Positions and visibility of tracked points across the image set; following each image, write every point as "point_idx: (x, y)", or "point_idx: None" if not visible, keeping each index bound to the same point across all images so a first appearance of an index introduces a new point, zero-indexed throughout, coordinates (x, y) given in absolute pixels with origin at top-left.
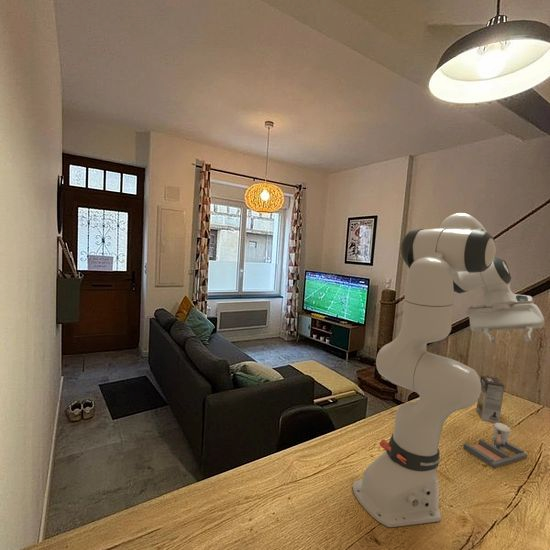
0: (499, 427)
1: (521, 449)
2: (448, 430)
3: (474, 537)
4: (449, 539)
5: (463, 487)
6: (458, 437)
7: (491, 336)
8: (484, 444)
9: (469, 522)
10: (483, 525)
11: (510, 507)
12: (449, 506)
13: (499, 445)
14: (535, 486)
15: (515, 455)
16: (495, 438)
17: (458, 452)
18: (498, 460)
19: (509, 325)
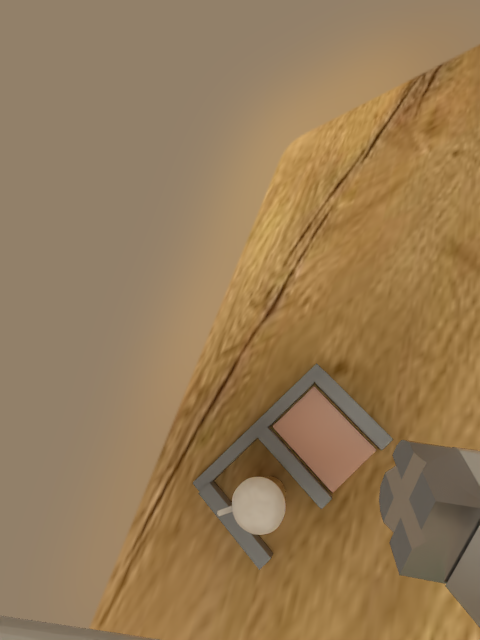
0: (272, 487)
1: (202, 497)
2: None
3: (417, 92)
4: (467, 63)
5: (417, 233)
6: None
7: (472, 497)
8: (317, 481)
9: (421, 125)
10: (393, 132)
11: (320, 217)
12: (459, 149)
13: (272, 477)
14: (230, 332)
15: (233, 455)
16: (282, 490)
17: (409, 405)
18: (297, 395)
19: (45, 625)
